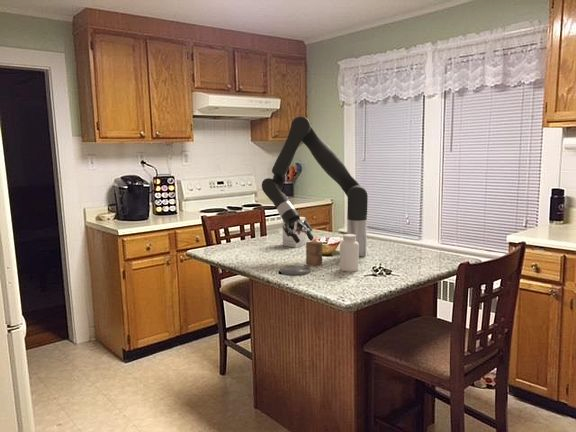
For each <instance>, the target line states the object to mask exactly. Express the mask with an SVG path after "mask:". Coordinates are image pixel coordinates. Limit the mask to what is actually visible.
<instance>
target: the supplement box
mask: <svg viewBox="0 0 576 432" xmlns="http://www.w3.org/2000/svg"><path fill="white" fill-rule="evenodd" d="M300 220H301V221H302V222H303V221H305V220H306V217H305V216H300ZM284 224H285V223H284V221H283V220H282V226H283V225H284ZM302 229H304V227H303V228H302ZM290 230H291V229H290ZM288 233H289V232H288ZM296 234H297V236H298V238H299V239H300V242H299V243H296V242H295V241H294V239H293V237H291V236H289V237H288V236H287V234H286V233H285V231H284V229H283V228H282V246H283V247H284V246H285V247H291V248H298V247H299V248H300V247H302V246H303V247H304V246H306V234H305V233H304V232H301V231H297V232H296Z"/></svg>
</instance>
